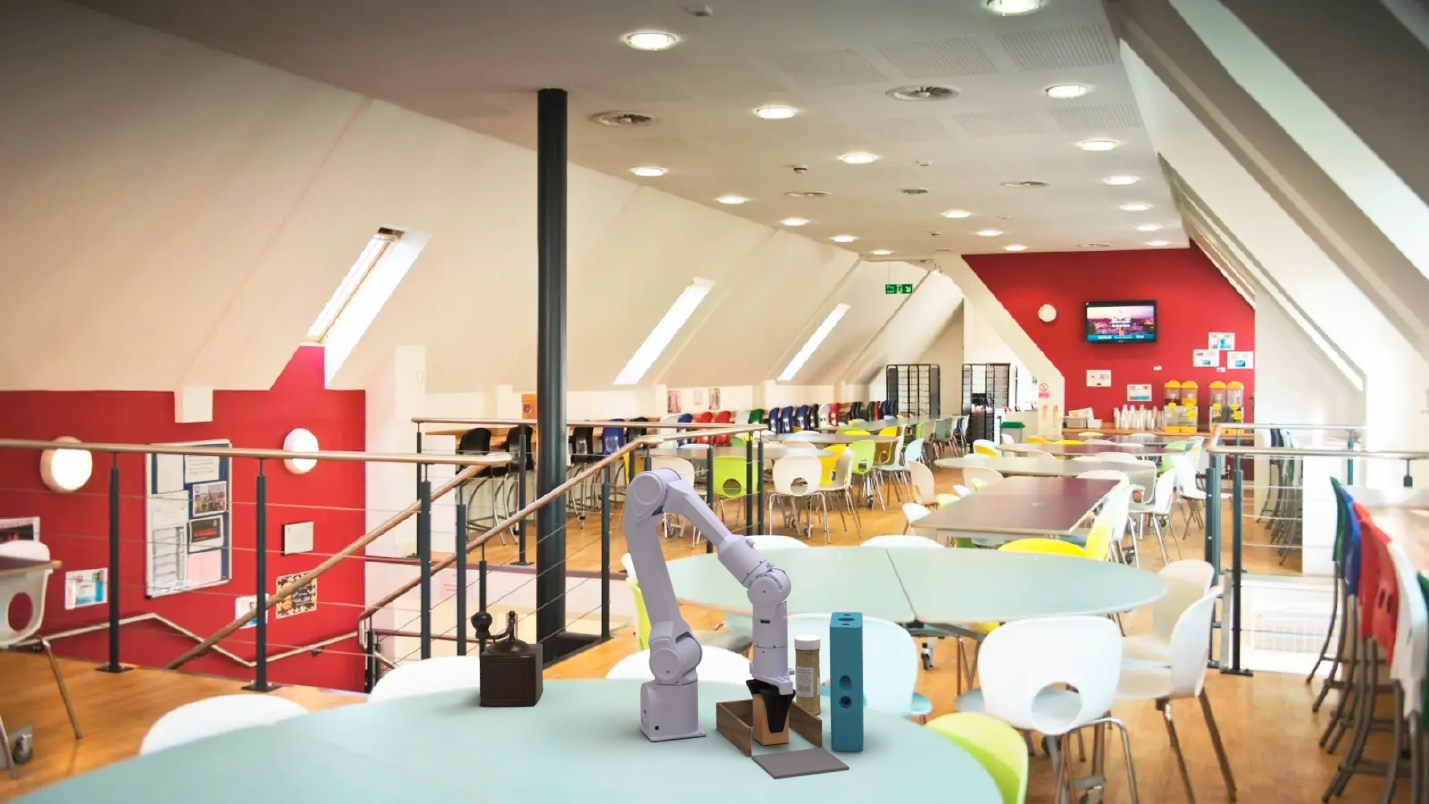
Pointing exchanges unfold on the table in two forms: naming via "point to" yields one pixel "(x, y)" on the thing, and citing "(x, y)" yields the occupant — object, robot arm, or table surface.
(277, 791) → the table surface
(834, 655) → the block
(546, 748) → the table surface
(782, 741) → the orange block
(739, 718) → the walnut box
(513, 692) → the manual coffee grinder
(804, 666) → the sprinkles bottle
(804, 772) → the charcoal mat
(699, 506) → the robot arm
